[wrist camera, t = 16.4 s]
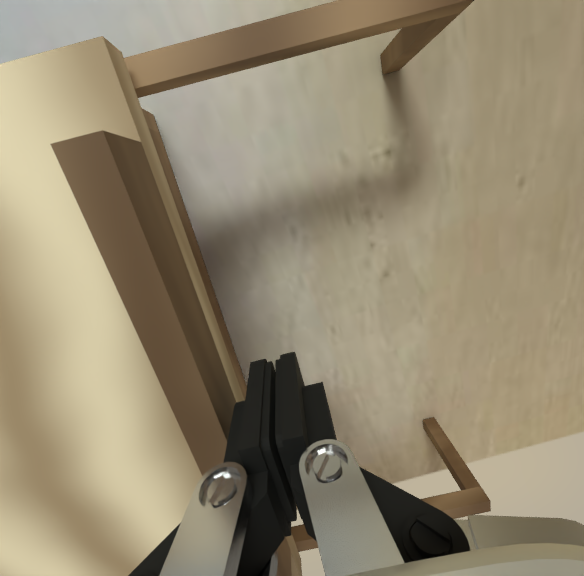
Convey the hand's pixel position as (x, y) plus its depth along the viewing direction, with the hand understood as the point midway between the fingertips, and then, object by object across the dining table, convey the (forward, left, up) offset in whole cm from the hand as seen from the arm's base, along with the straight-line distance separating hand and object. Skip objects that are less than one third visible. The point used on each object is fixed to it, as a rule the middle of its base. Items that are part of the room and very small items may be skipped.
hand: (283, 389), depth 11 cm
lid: (+9, 0, -1) cm, 9 cm away
